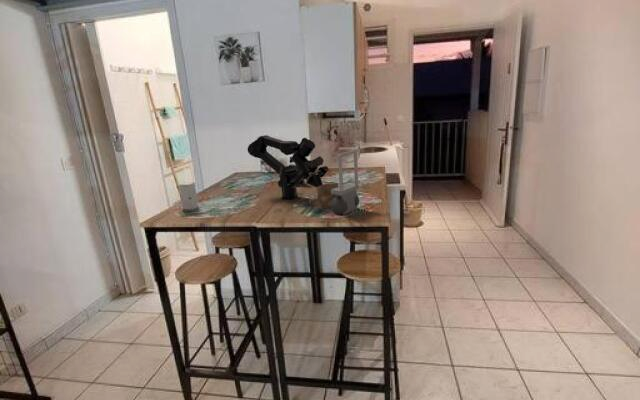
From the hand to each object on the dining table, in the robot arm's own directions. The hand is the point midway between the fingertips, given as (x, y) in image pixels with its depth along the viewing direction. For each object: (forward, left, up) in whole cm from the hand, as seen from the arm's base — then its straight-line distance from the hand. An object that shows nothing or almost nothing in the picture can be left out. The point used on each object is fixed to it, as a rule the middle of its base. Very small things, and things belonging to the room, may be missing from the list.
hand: (323, 189), depth 154 cm
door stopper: (-31, +31, -7) cm, 44 cm away
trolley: (+13, -8, -7) cm, 17 cm away
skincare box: (-60, -20, -7) cm, 64 cm away
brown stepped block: (+4, -1, -7) cm, 8 cm away
